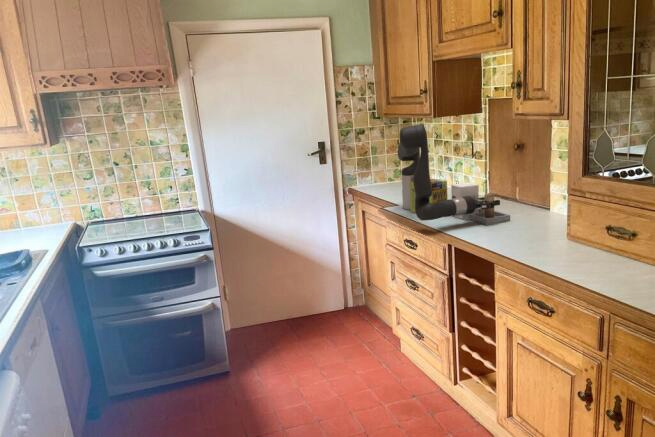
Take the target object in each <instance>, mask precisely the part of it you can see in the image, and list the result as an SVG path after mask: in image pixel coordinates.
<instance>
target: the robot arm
mask: <svg viewBox="0 0 655 437" xmlns="http://www.w3.org/2000/svg"><path fill="white" fill-rule="evenodd" d="M398 138H399V142H398V146H397V151H396V152H397V157H398V159H399V161H400V162H412V163H411V164H410V165H408V166H406V167H404V168H402V169H401V170H400V171H401V172H400V173H401V188H402V189H401V193H402V194H401V195H402V208H403V210H409V211H411V207H410V184H409V181H412V180H413V183H414V189H415V194H416V197H415V212H416V213H415V215H416V217H417V218H418V219H419V220H420V221H432V220H438V219H441V218H448V217H454V216H459V215H465V214H470V213H473V212H474V210H475V209H480V208H481V209H482V210H484V209H490V208H494V209H495V206H500V205H501V200H500V199H496V200H495V199H494V201H487V200H485V196H484V197H483V196H482V197H477V198H476V197H471V196H465V197H459V198H454V199H452V198H451V199H447V200H444V201H441V202H434V203H429V197H430V196H431V195H432V186H431V180H430V179H431V175H430V160H429V159H430V158H429V145H428V135H427V131H426V127H425V126H424V124H415V125H409V126H405V127H402V128H401V129H400V130H399V137H398ZM484 202H485V203H484Z"/></svg>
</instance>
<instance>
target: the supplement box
mask: <svg viewBox="0 0 655 437" xmlns="http://www.w3.org/2000/svg"><path fill="white" fill-rule="evenodd" d="M450 189H451V199H454V198H459V197H465V196H471V197H476V198H477V197H479V195H480V194H479V189H480V188H479V184H477V183H473V182H468V181H465V182H459V183H452V184H451V188H450ZM479 198H480V197H479ZM474 213H479V209H475V210H474V212H473V213H470V214H474ZM470 214H465V215H459V216H453V217H454V218H457V219H460V220H462V221H463V220H468V219H469V220H470Z"/></svg>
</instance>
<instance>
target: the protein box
mask: <svg viewBox="0 0 655 437" xmlns="http://www.w3.org/2000/svg"><path fill="white" fill-rule="evenodd" d="M430 180H431V186H432V195H431V196H430V197H429V203H434V202H441V201H444V200H448V180H446V179H437V178H430ZM409 184H410V207H411V210H410V212H411V213H415V214H416V212H415V197H416V194H415V189H414V183H413V180H412V181H409Z"/></svg>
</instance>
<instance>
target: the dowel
mask: <svg viewBox="0 0 655 437" xmlns="http://www.w3.org/2000/svg"><path fill="white" fill-rule="evenodd" d="M484 197H485V200H487V201H494V200H495V194H494V193H484ZM494 211H495V207H494V208H490V209H485V218H493V217H494Z"/></svg>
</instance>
